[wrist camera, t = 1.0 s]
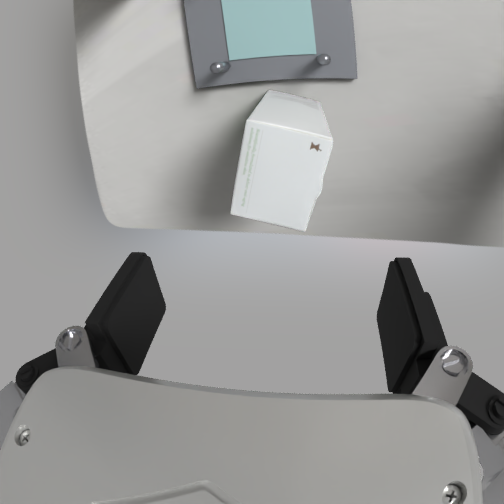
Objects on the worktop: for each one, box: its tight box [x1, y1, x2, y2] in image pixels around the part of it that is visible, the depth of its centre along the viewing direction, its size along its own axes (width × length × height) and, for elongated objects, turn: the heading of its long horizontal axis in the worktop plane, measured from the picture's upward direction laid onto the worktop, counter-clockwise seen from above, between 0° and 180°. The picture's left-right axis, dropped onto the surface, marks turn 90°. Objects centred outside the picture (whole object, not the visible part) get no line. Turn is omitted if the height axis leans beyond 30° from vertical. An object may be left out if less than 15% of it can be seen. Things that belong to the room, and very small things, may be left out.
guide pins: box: [210, 54, 331, 74], centre depth 24 cm, size 12×13×4 cm
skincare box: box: [230, 90, 333, 232], centre depth 28 cm, size 8×7×16 cm
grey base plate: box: [184, 0, 357, 89], centre depth 26 cm, size 18×16×1 cm
